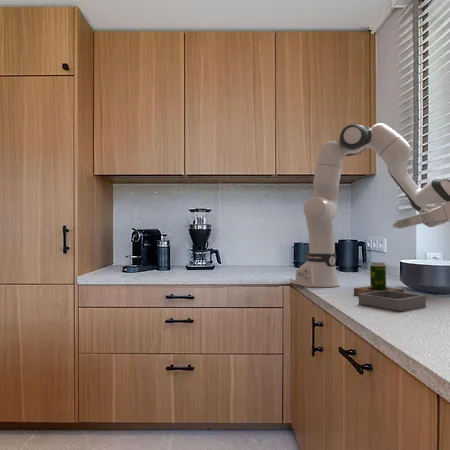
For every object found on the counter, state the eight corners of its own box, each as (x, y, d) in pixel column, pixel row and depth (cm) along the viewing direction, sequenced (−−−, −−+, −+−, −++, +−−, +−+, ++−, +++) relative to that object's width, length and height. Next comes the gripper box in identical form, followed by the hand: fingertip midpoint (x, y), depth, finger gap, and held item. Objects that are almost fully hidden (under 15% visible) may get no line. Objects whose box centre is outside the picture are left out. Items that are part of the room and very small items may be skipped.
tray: (358, 304, 120) (358, 293, 120) (385, 300, 127) (385, 289, 128) (399, 312, 108) (398, 300, 108) (425, 306, 116) (425, 295, 116)
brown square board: (353, 295, 138) (353, 288, 139) (374, 292, 145) (374, 285, 145) (383, 299, 128) (382, 292, 128) (403, 296, 135) (403, 289, 135)
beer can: (381, 294, 140) (381, 262, 140) (389, 296, 134) (388, 263, 134) (367, 294, 139) (367, 262, 139) (375, 297, 134) (374, 263, 134)
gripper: (411, 212, 155) (382, 220, 152) (449, 201, 135) (417, 210, 132) (416, 227, 154) (387, 235, 151) (454, 218, 134) (423, 227, 131)
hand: (401, 223), depth 141 cm, fingers open, 8 cm apart
